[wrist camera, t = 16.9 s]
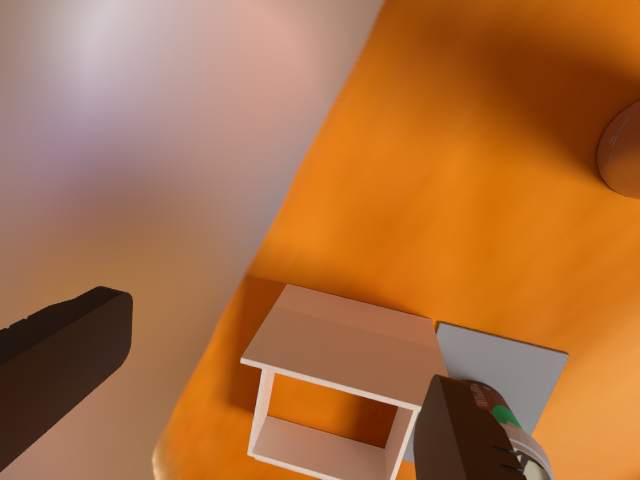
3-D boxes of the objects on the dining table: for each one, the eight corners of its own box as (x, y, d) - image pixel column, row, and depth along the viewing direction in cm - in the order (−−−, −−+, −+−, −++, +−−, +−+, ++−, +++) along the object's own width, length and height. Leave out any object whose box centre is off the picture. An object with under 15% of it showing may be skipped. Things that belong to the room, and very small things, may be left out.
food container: (524, 452, 43) (566, 542, 33) (470, 455, 44) (496, 542, 34) (513, 363, 40) (557, 433, 30) (456, 368, 41) (480, 438, 31)
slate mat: (567, 353, 39) (569, 355, 38) (504, 486, 45) (505, 489, 44) (439, 321, 40) (440, 323, 40) (395, 455, 46) (395, 457, 46)
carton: (431, 319, 40) (461, 417, 26) (374, 492, 48) (373, 640, 34) (287, 283, 42) (241, 357, 27) (255, 456, 50) (206, 583, 35)
